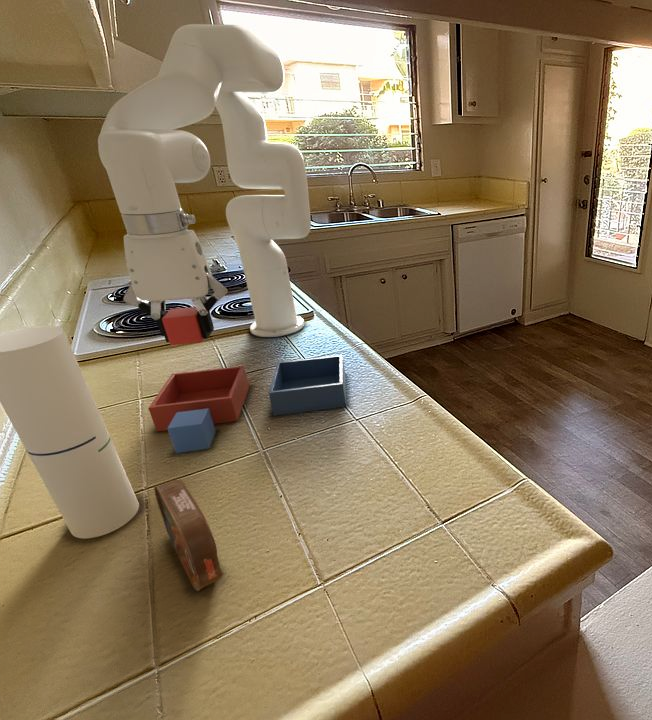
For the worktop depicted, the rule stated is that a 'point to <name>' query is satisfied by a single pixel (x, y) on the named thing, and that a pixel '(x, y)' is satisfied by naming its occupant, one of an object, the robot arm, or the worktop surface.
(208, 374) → the red bin
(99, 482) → the cylindrical container
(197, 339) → the red block
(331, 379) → the blue bin
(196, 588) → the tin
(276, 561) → the worktop surface
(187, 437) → the blue block
